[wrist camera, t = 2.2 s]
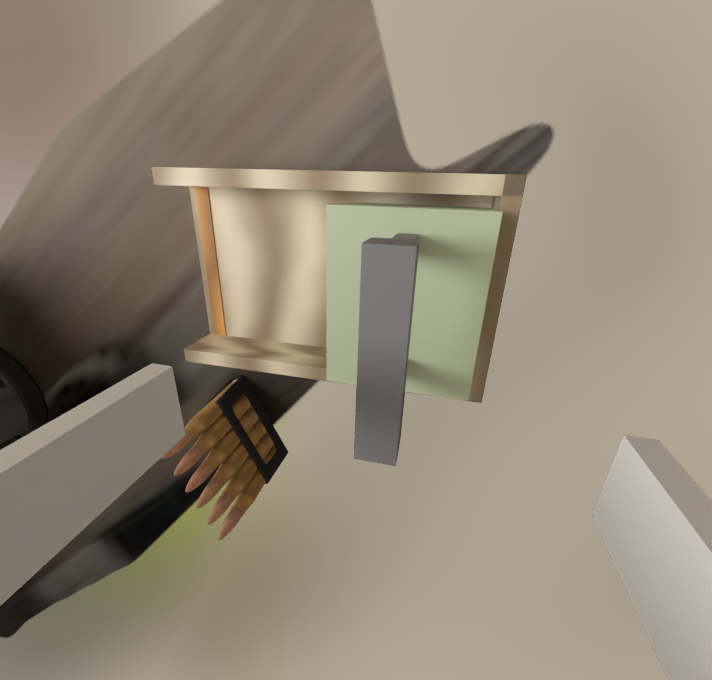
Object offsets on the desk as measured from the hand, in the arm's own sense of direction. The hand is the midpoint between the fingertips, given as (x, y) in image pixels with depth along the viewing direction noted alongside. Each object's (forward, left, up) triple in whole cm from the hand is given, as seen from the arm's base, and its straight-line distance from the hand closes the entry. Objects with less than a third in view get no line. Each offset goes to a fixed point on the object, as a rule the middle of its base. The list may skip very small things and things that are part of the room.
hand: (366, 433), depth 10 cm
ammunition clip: (-16, -17, -22) cm, 32 cm away
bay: (-7, 0, -21) cm, 23 cm away
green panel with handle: (0, 0, -20) cm, 20 cm away
